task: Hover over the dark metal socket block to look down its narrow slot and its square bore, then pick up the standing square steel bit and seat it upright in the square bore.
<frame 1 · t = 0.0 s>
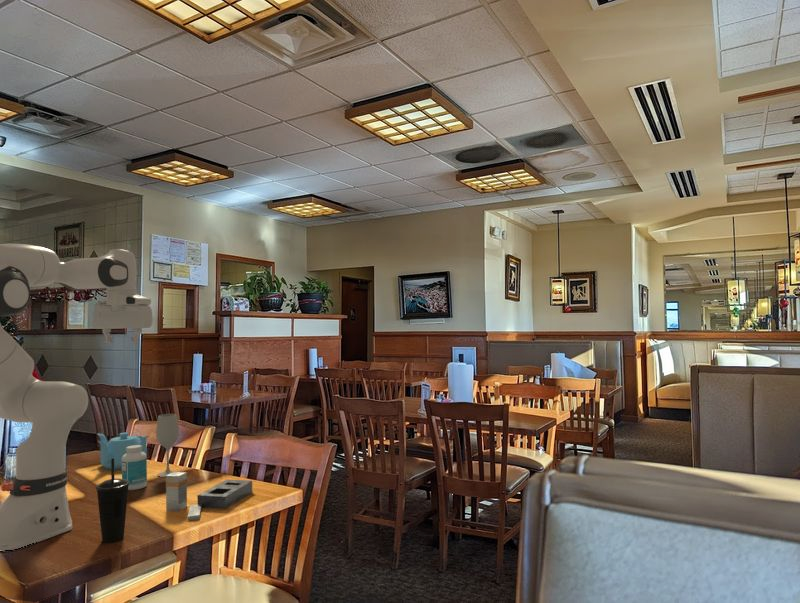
hand: (122, 342, 180), 48 cm above the table, fingers open, 8 cm apart
socket block: (226, 499, 169), on the table
square bit: (176, 508, 162), on the table
teapot: (121, 466, 212), on the table
wineglass: (167, 474, 199), on the table
light grey bar: (194, 515, 157), on the table
pill bottle: (134, 488, 183), on the table
drinking cup: (113, 539, 140), on the table
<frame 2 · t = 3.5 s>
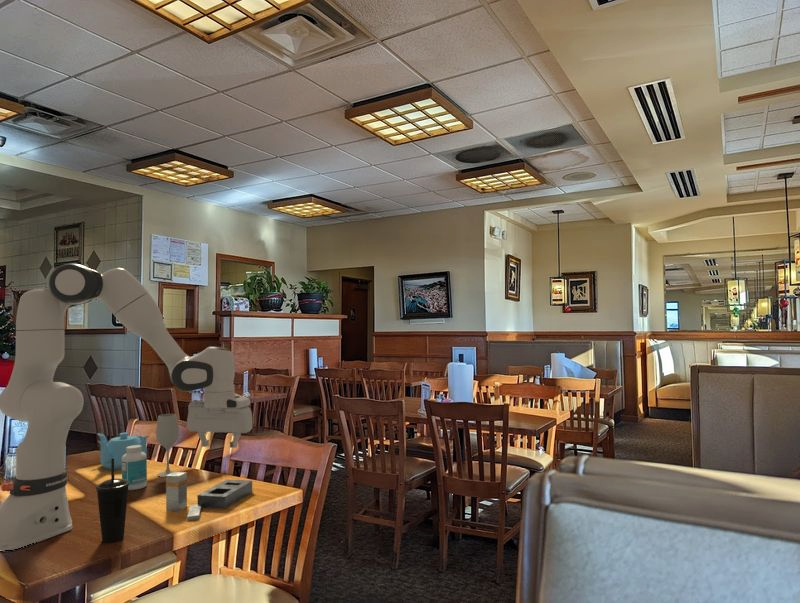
hand: (219, 446, 167), 17 cm above the table, fingers open, 8 cm apart
nothing on the table moved.
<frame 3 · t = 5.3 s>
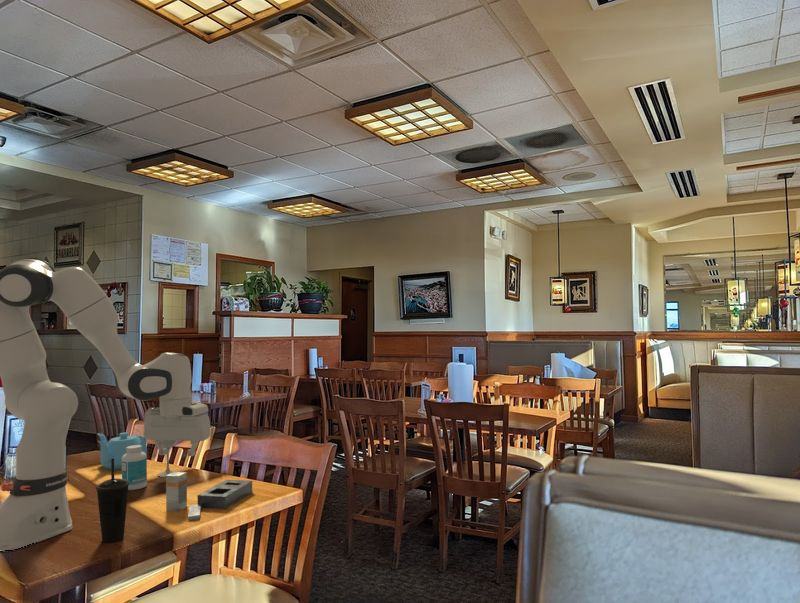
hand: (177, 455, 162), 15 cm above the table, fingers open, 8 cm apart
nothing on the table moved.
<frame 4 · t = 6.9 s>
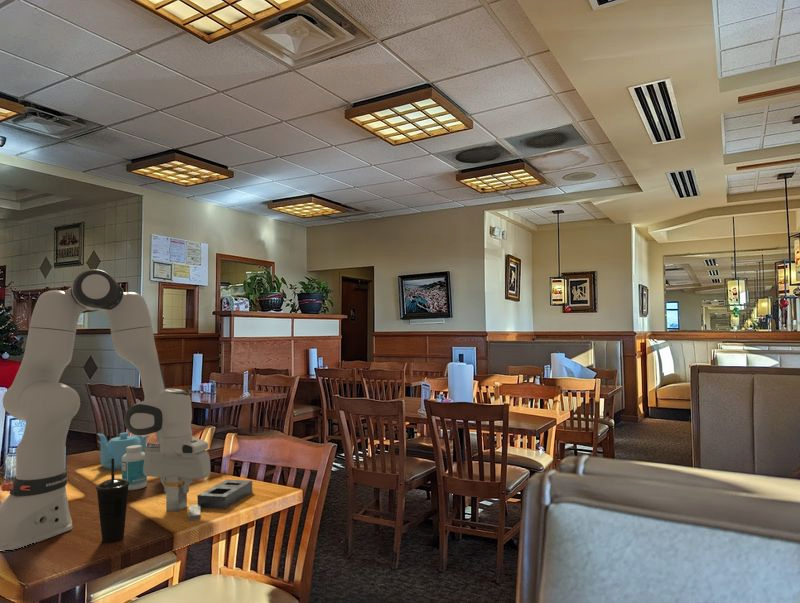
hand: (176, 492, 162), 5 cm above the table, fingers closed on square bit, 4 cm apart
square bit: (176, 508, 162), on the table, touching gripper
everything else where it was.
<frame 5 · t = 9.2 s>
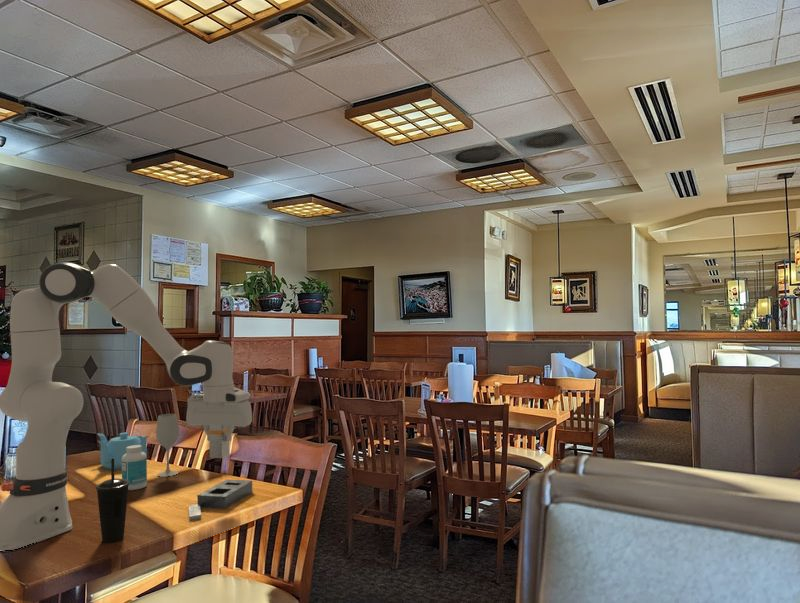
hand: (219, 440, 166), 18 cm above the table, fingers closed on square bit, 4 cm apart
square bit: (219, 456, 166), point 14 cm above the table, touching gripper
everything else where it was.
when the fingers open (5 cm above the table, at t = 11.5 s): square bit stays where it is, resting in socket block.
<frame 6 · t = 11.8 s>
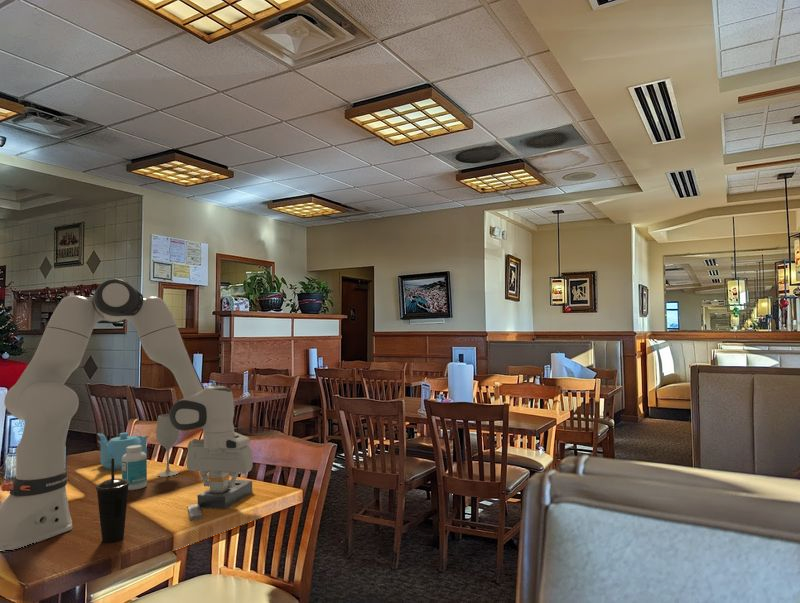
hand: (219, 486, 166), 5 cm above the table, fingers open, 6 cm apart
square bit: (219, 503, 166), resting in socket block
everything else where it was.
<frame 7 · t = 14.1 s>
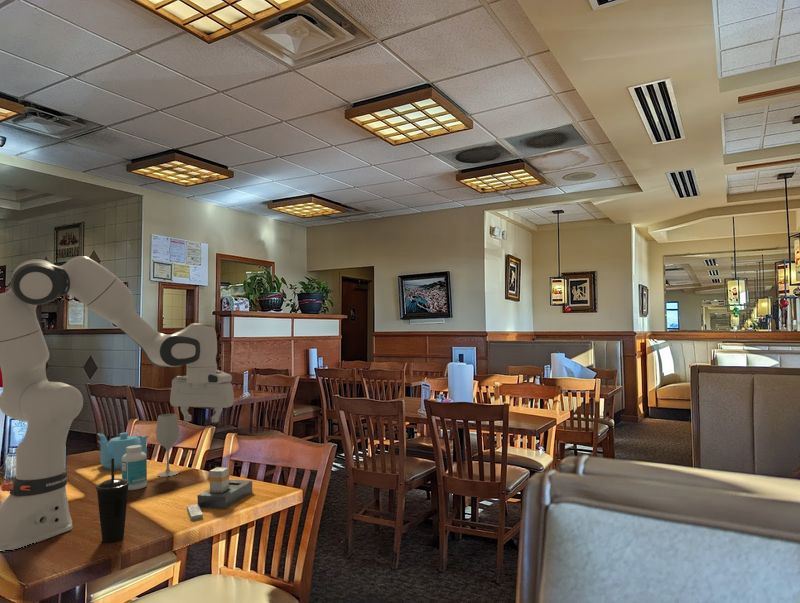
hand: (201, 421, 170), 24 cm above the table, fingers open, 8 cm apart
nothing on the table moved.
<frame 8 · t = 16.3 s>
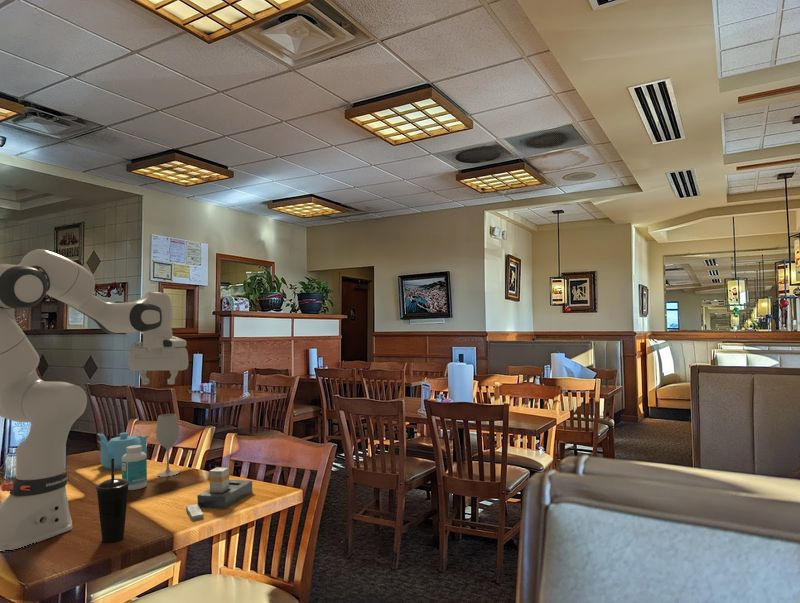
hand: (158, 384, 181), 34 cm above the table, fingers open, 8 cm apart
nothing on the table moved.
at the end: square bit 0.1 cm from the target spot on the socket block, point 0.0 cm above the socket block's base; square bit tilted 0°; the gripper is holding nothing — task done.
